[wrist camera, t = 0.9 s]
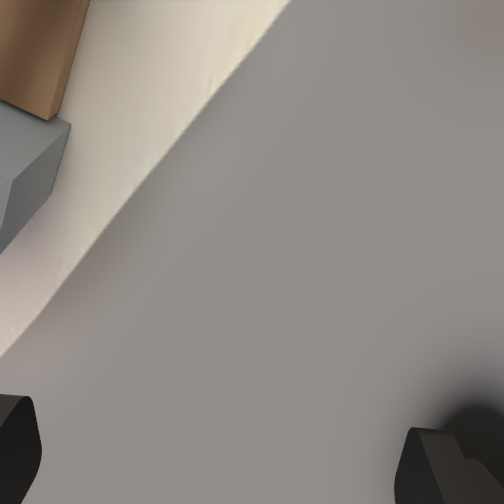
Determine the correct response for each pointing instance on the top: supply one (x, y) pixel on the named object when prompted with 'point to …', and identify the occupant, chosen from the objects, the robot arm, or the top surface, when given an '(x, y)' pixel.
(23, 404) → the robot arm
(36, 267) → the top surface
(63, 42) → the rail
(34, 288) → the top surface
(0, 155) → the cabinet
